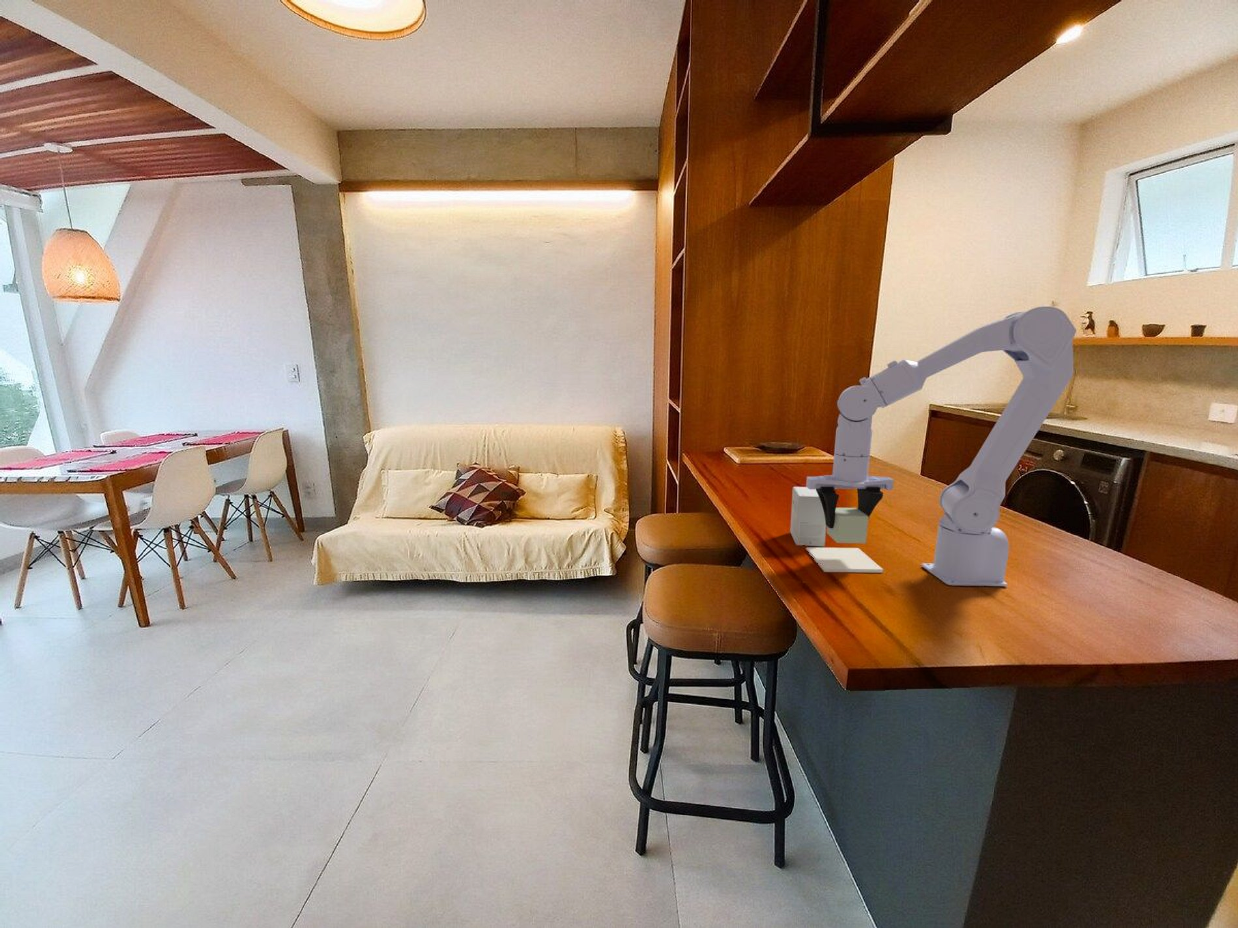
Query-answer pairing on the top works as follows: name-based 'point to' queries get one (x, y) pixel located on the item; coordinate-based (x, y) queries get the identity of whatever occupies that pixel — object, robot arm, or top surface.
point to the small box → (807, 518)
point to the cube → (849, 526)
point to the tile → (843, 560)
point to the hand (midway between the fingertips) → (845, 526)
